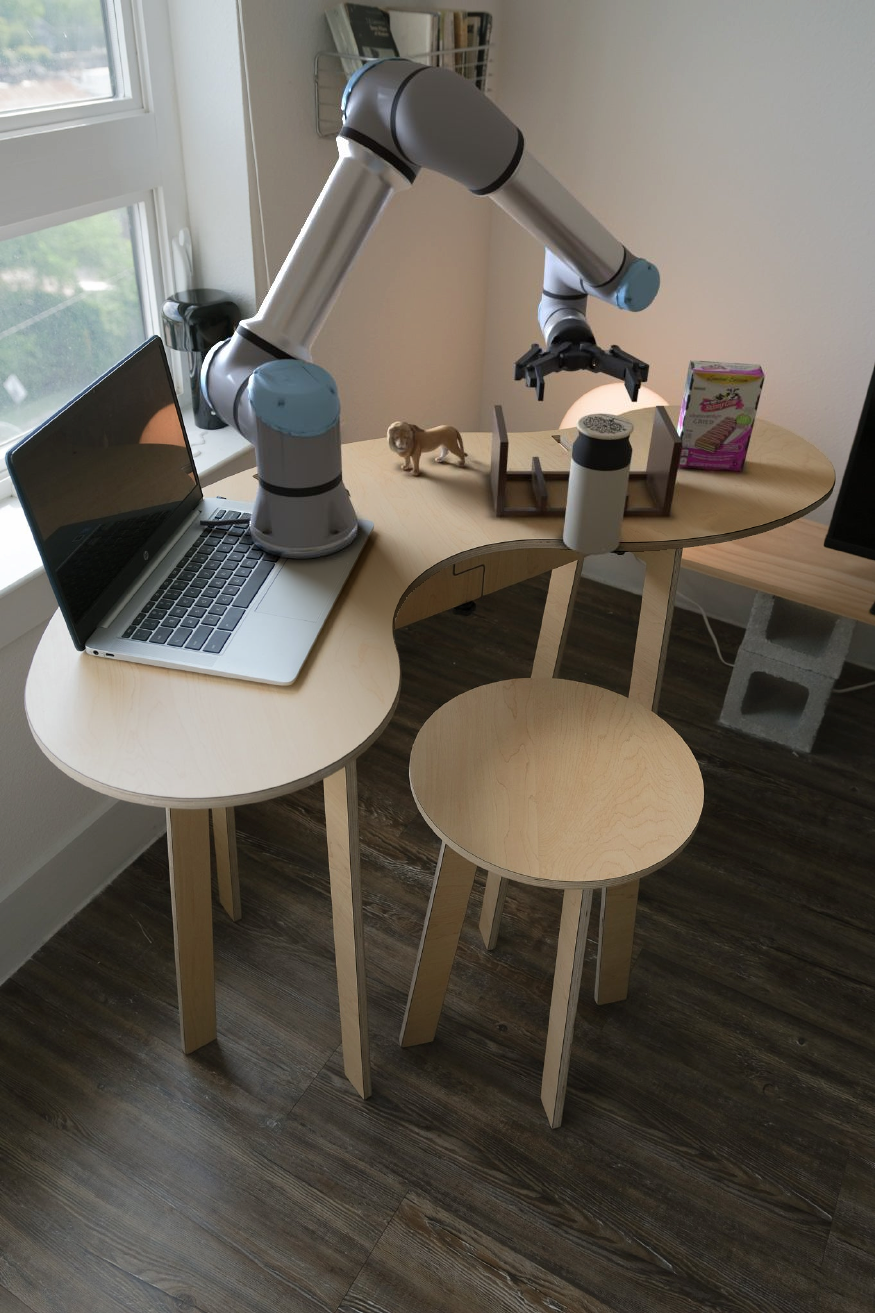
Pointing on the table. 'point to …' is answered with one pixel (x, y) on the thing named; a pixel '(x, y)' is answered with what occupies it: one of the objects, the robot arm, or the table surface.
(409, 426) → the lion figurine
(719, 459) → the candy bar box
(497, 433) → the rack
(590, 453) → the travel mug
